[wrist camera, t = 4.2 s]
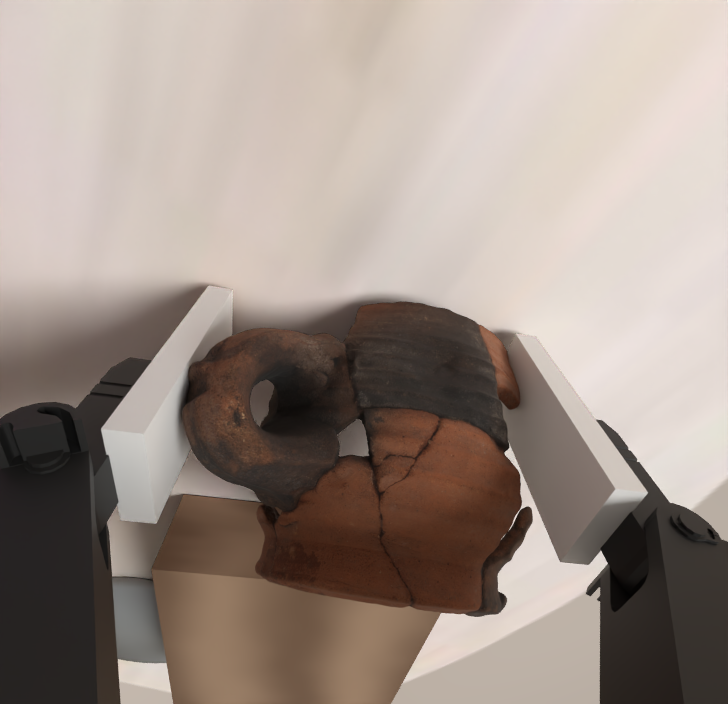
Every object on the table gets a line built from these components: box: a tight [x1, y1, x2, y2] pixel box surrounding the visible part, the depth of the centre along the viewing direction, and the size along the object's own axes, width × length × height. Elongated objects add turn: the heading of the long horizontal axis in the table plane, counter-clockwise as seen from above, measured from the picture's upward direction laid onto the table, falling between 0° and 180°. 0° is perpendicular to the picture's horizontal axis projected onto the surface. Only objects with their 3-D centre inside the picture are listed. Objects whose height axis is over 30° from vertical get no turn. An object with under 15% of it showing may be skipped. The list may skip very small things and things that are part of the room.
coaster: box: [112, 577, 167, 663], centre depth 25 cm, size 9×9×1 cm
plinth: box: [151, 494, 441, 704], centre depth 22 cm, size 12×14×4 cm
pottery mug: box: [182, 302, 533, 617], centre depth 14 cm, size 12×9×8 cm
